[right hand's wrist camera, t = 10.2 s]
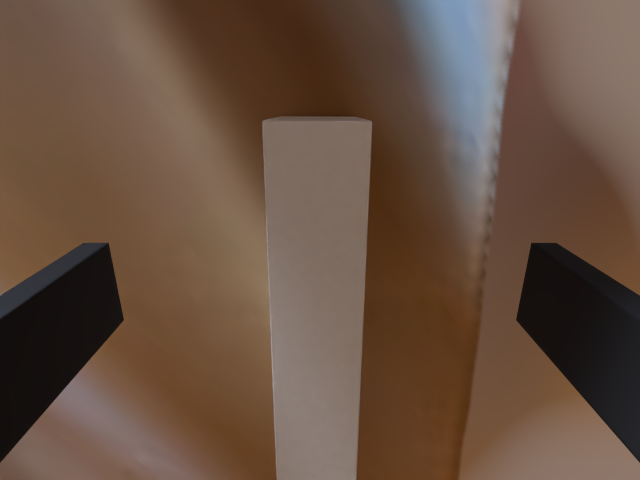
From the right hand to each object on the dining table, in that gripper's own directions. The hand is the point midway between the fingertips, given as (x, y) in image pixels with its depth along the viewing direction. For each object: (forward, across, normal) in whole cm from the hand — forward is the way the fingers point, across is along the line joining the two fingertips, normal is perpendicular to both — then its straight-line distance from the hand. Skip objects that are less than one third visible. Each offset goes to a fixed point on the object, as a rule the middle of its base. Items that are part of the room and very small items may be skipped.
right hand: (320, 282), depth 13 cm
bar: (+15, 0, -24) cm, 28 cm away
